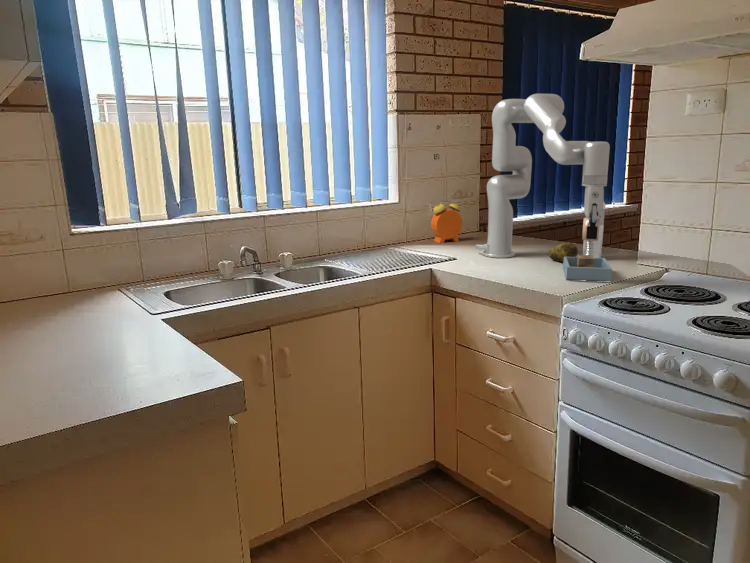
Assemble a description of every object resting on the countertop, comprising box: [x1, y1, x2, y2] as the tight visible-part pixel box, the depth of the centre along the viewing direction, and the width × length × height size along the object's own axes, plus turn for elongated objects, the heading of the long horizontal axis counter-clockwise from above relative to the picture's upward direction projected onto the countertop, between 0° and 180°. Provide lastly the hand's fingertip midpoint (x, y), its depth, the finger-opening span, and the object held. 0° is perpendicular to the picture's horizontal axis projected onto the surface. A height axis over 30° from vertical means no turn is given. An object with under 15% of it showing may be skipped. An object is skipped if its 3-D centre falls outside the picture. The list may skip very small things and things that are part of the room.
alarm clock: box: [430, 197, 463, 244], centre depth 262 cm, size 13×6×20 cm, turn 113°
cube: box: [576, 255, 594, 268], centre depth 198 cm, size 5×5×5 cm
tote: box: [562, 256, 613, 282], centre depth 195 cm, size 14×18×4 cm
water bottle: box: [582, 200, 607, 258], centre depth 219 cm, size 7×7×25 cm
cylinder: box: [581, 217, 600, 241], centre depth 188 cm, size 5×5×7 cm
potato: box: [547, 242, 579, 263], centre depth 215 cm, size 8×13×8 cm, turn 1°
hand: (590, 236), depth 188 cm, fingers closed on cylinder, 5 cm apart
